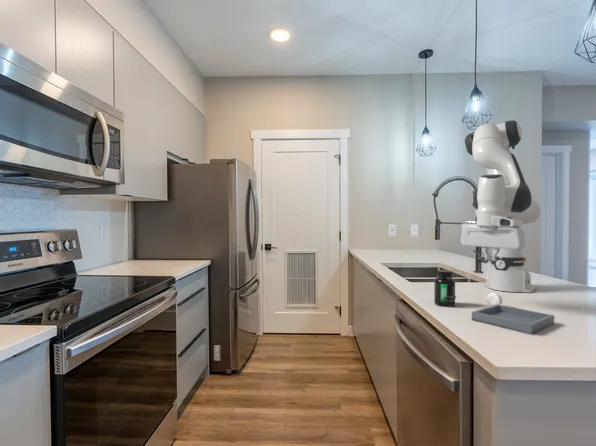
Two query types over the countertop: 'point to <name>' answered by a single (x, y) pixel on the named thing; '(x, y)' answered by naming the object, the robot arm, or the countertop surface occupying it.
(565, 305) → the countertop surface
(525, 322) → the tray
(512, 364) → the countertop surface
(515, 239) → the robot arm
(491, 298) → the small white bowl
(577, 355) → the countertop surface
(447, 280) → the supplement bottle
